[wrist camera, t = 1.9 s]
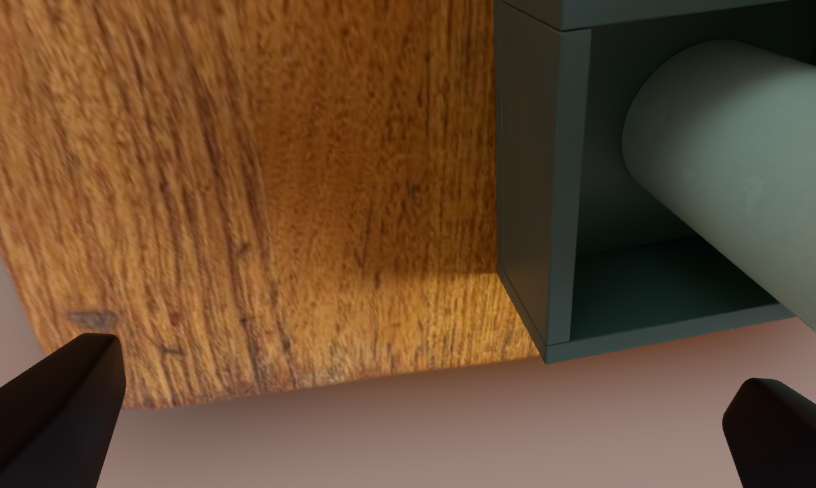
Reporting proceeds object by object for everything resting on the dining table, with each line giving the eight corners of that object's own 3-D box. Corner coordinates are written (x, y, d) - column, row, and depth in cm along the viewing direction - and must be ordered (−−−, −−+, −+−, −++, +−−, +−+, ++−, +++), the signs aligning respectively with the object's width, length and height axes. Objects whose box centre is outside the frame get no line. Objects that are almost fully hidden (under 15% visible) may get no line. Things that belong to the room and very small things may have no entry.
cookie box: (496, 274, 23) (545, 365, 19) (492, -32, 17) (561, -6, 13) (766, 227, 24) (873, 302, 20) (848, -76, 18) (1027, -66, 14)
